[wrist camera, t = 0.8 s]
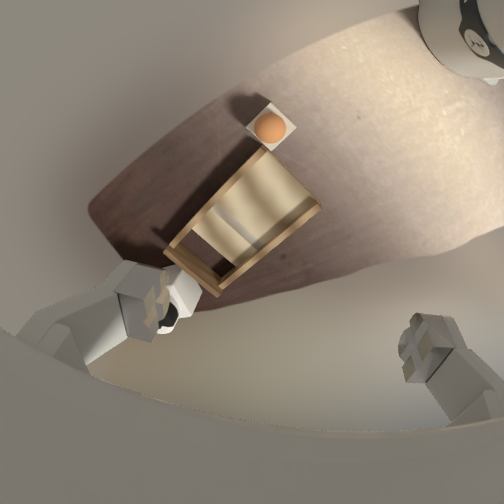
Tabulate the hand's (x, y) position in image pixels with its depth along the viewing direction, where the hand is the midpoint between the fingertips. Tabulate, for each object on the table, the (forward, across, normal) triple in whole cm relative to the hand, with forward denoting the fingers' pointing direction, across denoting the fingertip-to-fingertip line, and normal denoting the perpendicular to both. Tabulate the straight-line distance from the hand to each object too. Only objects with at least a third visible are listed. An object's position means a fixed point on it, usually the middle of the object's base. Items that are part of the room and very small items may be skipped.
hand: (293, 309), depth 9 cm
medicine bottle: (+35, +17, +29) cm, 48 cm away
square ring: (+34, +4, -1) cm, 35 cm away
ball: (+31, +4, -1) cm, 31 cm away
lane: (+34, +6, +14) cm, 38 cm away
